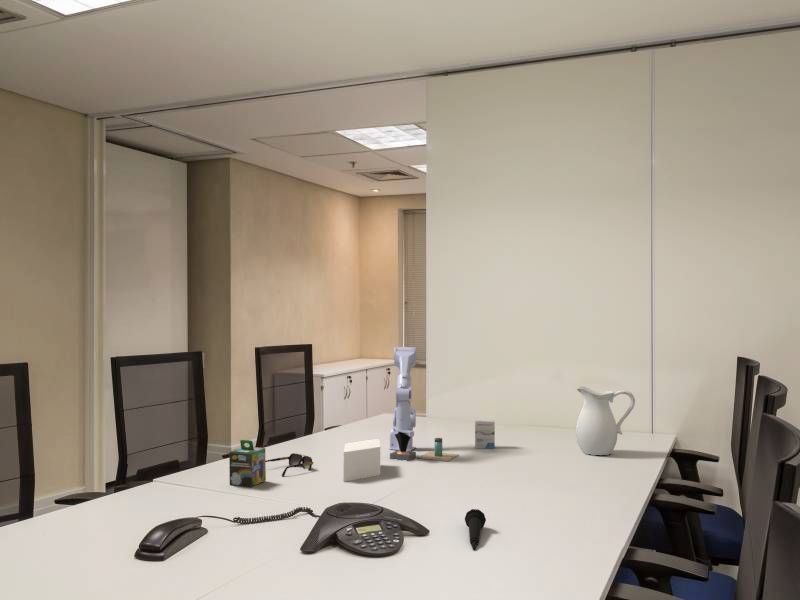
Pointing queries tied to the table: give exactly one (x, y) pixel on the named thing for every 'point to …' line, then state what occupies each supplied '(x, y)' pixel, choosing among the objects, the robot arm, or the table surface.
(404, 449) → the robot arm
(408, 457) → the button frame
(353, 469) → the white rectangular block
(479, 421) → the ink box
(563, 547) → the table surface
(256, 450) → the chalk box
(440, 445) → the cylindrical container
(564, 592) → the table surface
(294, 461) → the sunglasses
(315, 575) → the table surface
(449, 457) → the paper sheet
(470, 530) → the microphone
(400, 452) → the button
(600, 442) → the pitcher
